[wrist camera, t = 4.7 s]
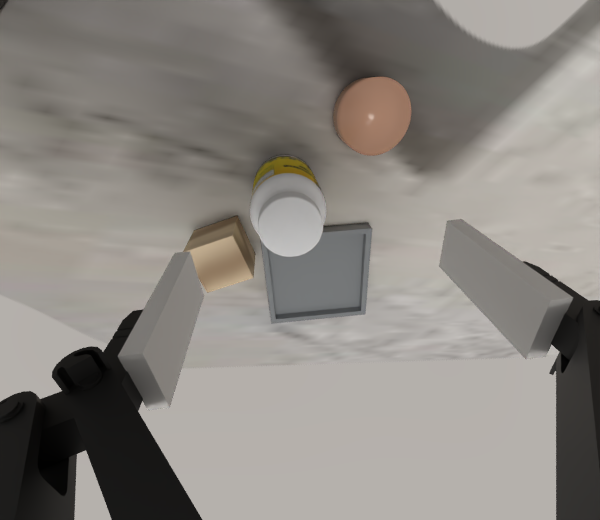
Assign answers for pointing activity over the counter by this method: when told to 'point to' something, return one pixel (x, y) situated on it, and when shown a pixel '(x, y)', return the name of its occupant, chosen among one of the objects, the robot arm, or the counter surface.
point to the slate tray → (321, 276)
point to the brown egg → (372, 115)
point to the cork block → (222, 254)
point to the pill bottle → (287, 206)
